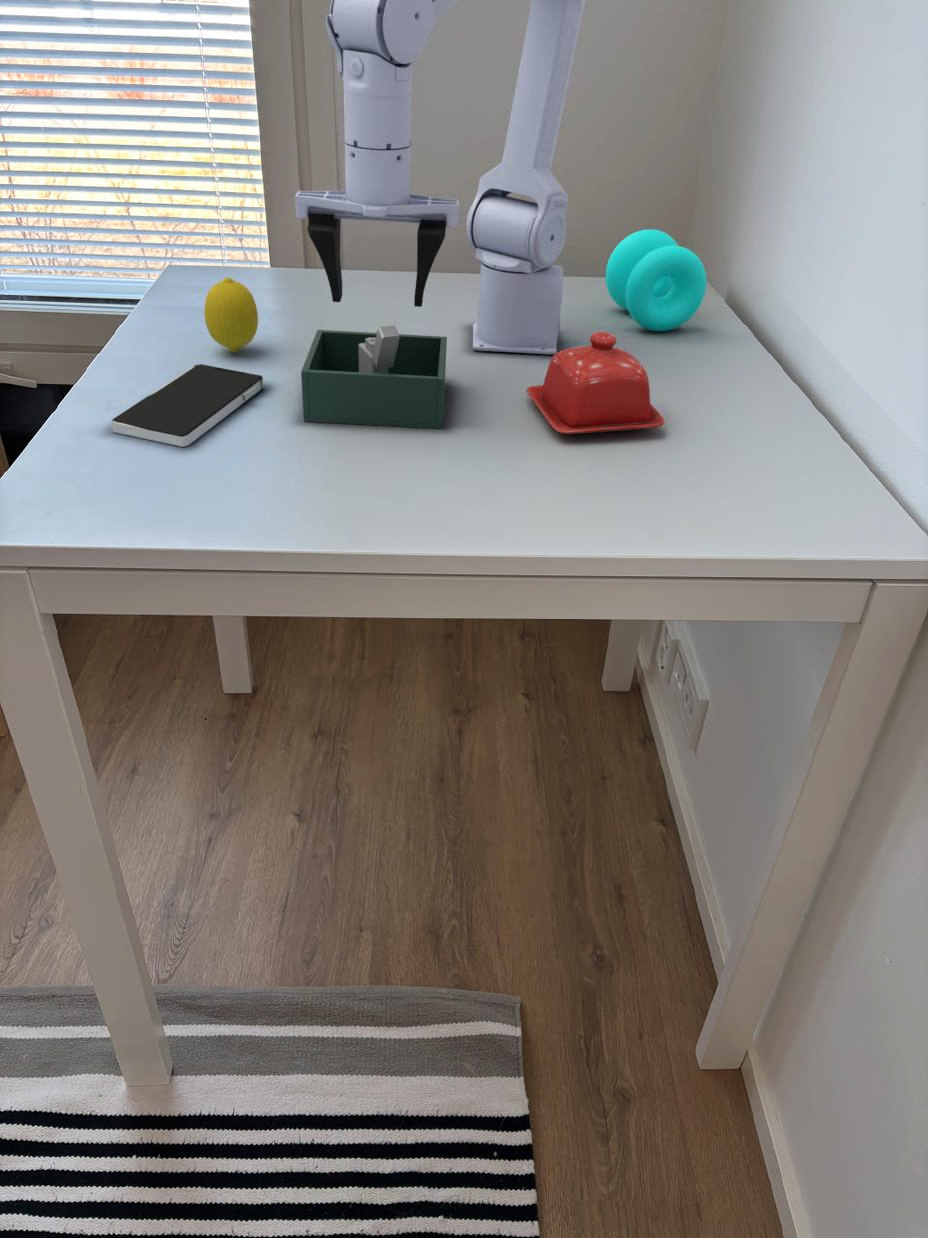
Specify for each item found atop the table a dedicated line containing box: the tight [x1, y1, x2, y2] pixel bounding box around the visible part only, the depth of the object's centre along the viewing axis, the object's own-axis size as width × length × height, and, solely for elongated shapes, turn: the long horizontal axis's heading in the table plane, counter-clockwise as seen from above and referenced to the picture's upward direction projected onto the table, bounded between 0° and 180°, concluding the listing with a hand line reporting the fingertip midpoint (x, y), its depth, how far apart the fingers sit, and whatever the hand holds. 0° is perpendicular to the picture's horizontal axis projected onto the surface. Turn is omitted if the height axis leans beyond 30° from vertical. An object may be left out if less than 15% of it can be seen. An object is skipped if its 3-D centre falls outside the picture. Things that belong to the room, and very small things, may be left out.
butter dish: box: [525, 331, 666, 435], centre depth 93 cm, size 12×12×8 cm
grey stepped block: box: [359, 325, 400, 374], centre depth 93 cm, size 7×2×8 cm, turn 24°
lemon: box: [203, 277, 259, 353], centre depth 102 cm, size 6×6×8 cm
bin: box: [300, 329, 448, 430], centre depth 94 cm, size 13×11×5 cm
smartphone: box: [111, 363, 265, 448], centre depth 92 cm, size 8×1×15 cm
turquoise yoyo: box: [605, 229, 707, 332], centre depth 117 cm, size 10×10×10 cm
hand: (378, 300), depth 91 cm, fingers open, 7 cm apart
